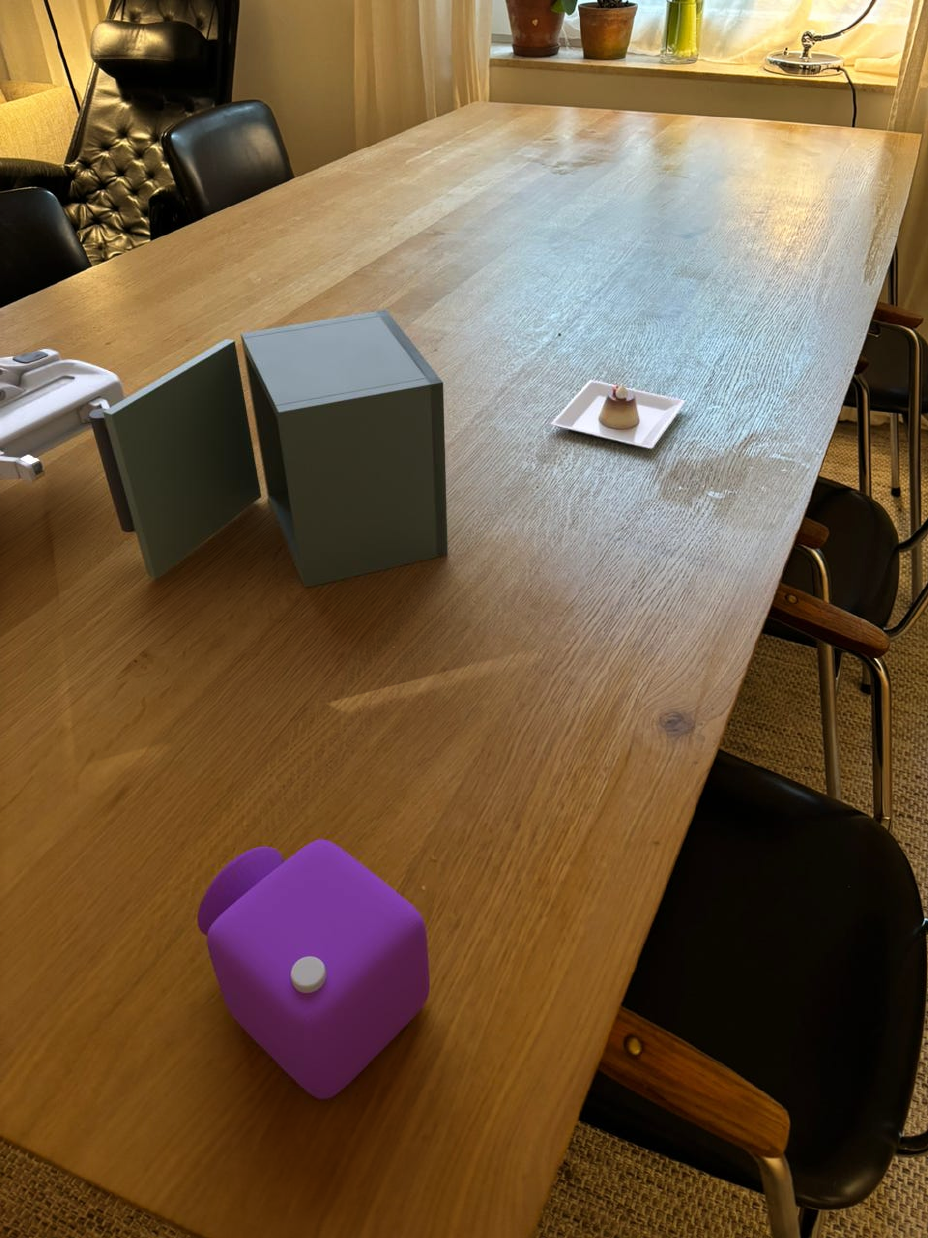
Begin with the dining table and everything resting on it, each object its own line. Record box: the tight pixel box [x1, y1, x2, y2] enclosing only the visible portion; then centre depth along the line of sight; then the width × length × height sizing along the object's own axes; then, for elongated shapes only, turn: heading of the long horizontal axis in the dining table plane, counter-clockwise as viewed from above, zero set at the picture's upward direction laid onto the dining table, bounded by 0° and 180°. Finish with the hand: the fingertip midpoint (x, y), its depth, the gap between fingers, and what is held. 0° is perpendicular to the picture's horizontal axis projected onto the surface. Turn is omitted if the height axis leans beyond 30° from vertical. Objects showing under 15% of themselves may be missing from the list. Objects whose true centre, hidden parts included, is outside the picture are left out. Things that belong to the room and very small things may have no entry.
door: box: [89, 338, 262, 580], centre depth 92 cm, size 6×16×17 cm, turn 151°
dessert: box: [550, 379, 687, 450], centre depth 112 cm, size 12×12×5 cm
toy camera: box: [197, 838, 431, 1100], centre depth 57 cm, size 11×14×10 cm
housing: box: [240, 309, 449, 589], centre depth 93 cm, size 14×16×18 cm
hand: (79, 449), depth 92 cm, fingers open, 8 cm apart
